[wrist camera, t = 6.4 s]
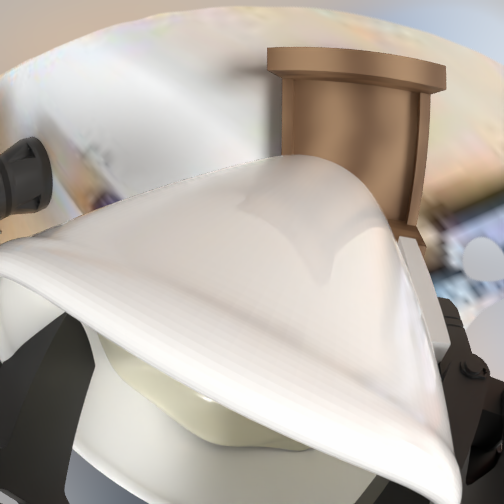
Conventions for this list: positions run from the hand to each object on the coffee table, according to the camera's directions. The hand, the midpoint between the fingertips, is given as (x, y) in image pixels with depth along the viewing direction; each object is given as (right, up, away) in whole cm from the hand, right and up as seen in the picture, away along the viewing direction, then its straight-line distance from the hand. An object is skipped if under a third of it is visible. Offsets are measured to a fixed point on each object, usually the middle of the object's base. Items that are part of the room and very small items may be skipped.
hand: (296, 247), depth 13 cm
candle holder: (0, 0, +1) cm, 1 cm away
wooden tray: (+8, +10, +13) cm, 18 cm away
